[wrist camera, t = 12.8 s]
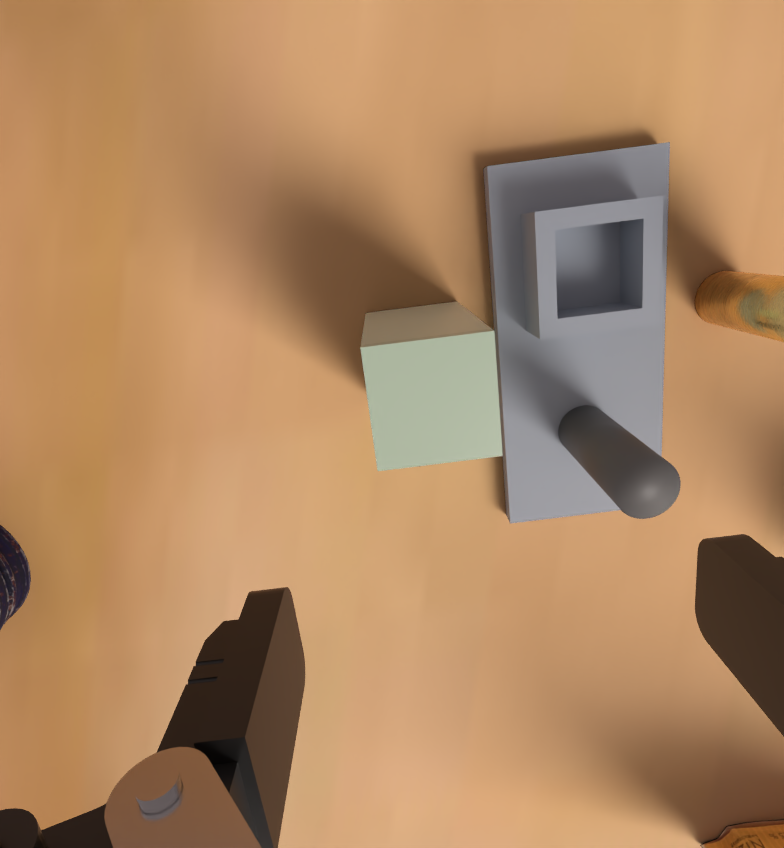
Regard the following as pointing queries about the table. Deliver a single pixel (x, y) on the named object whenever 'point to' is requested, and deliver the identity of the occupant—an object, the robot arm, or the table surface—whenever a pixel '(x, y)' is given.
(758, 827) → the pancake mix bag
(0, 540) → the storage jar
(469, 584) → the table surface
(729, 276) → the brass pin
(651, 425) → the board
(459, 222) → the table surface
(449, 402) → the block
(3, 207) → the table surface
